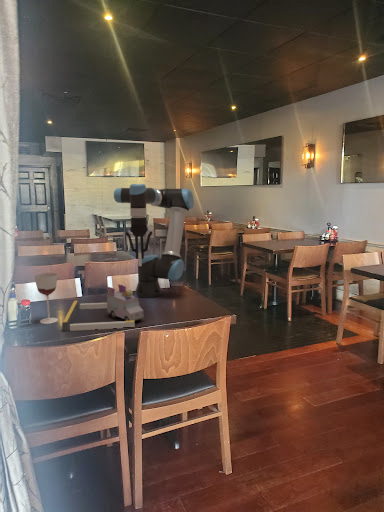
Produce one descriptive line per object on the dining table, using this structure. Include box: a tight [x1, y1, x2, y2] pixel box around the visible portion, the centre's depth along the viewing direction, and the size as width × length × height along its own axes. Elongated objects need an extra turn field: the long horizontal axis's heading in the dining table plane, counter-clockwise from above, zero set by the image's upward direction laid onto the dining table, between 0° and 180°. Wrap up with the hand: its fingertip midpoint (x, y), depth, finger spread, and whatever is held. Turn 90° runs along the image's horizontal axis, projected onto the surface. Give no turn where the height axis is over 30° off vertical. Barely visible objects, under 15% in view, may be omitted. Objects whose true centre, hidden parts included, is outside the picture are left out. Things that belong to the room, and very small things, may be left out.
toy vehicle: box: [106, 284, 145, 321], centre depth 180 cm, size 9×20×15 cm, turn 46°
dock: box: [62, 300, 136, 332], centre depth 182 cm, size 31×32×4 cm
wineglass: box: [34, 272, 59, 325], centre depth 176 cm, size 9×10×22 cm
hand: (140, 265), depth 183 cm, fingers closed
